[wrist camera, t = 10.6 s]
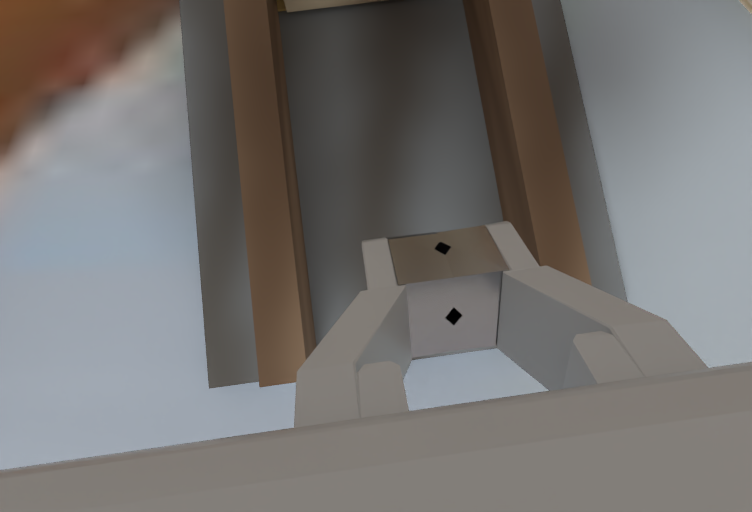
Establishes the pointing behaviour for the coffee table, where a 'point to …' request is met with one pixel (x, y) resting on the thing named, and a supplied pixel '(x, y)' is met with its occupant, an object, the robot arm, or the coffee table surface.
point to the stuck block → (319, 4)
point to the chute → (374, 156)
